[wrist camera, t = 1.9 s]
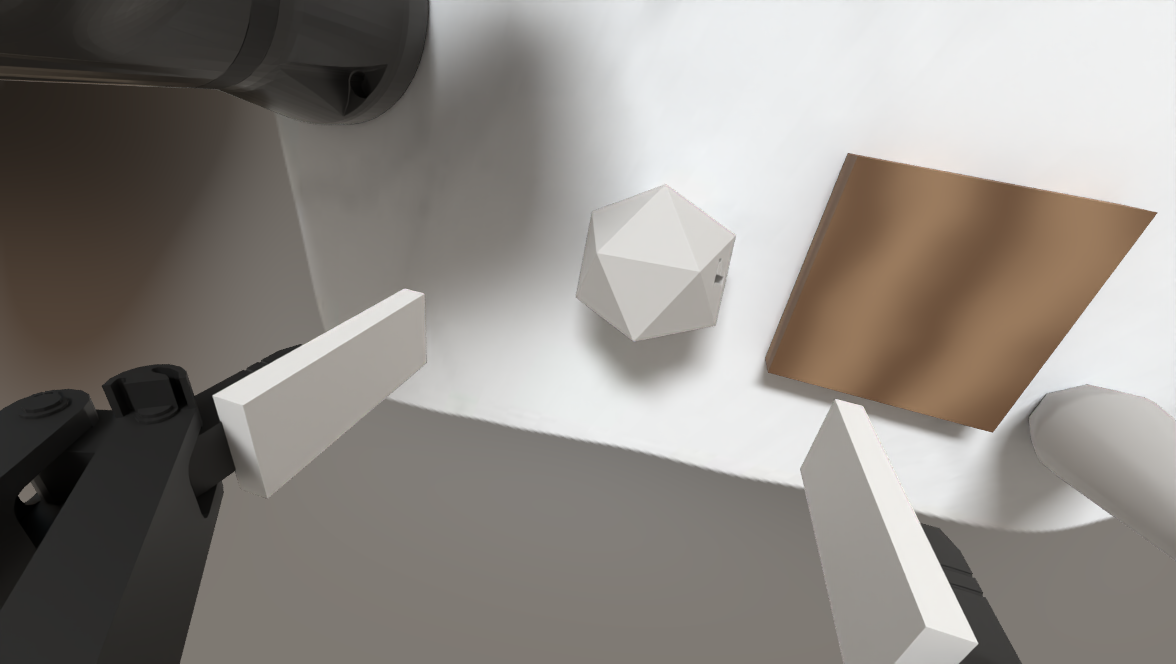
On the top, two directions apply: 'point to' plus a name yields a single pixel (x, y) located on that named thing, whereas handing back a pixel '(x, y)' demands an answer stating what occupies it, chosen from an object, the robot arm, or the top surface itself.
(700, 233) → the die
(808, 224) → the top surface
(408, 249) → the top surface
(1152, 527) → the salt shaker
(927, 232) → the walnut board
